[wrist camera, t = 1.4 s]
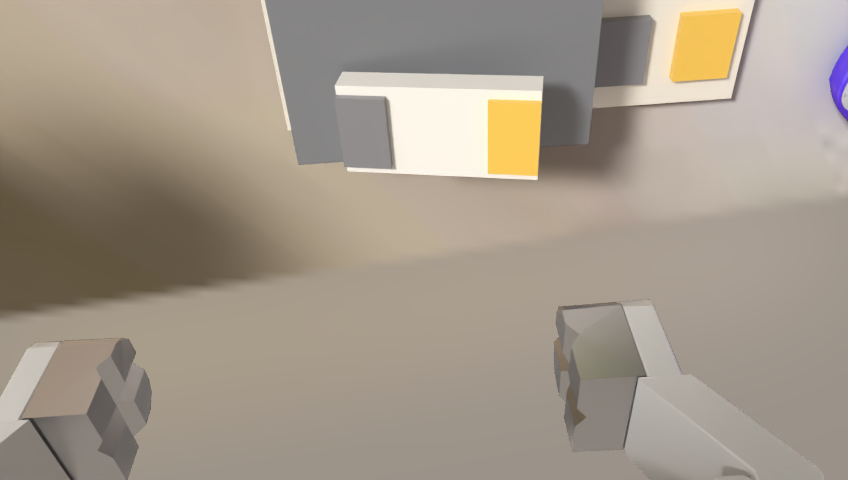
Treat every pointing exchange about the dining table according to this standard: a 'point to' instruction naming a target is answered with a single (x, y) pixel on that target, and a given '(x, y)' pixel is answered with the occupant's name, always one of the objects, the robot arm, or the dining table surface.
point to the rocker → (440, 124)
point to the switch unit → (506, 54)
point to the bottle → (840, 83)
